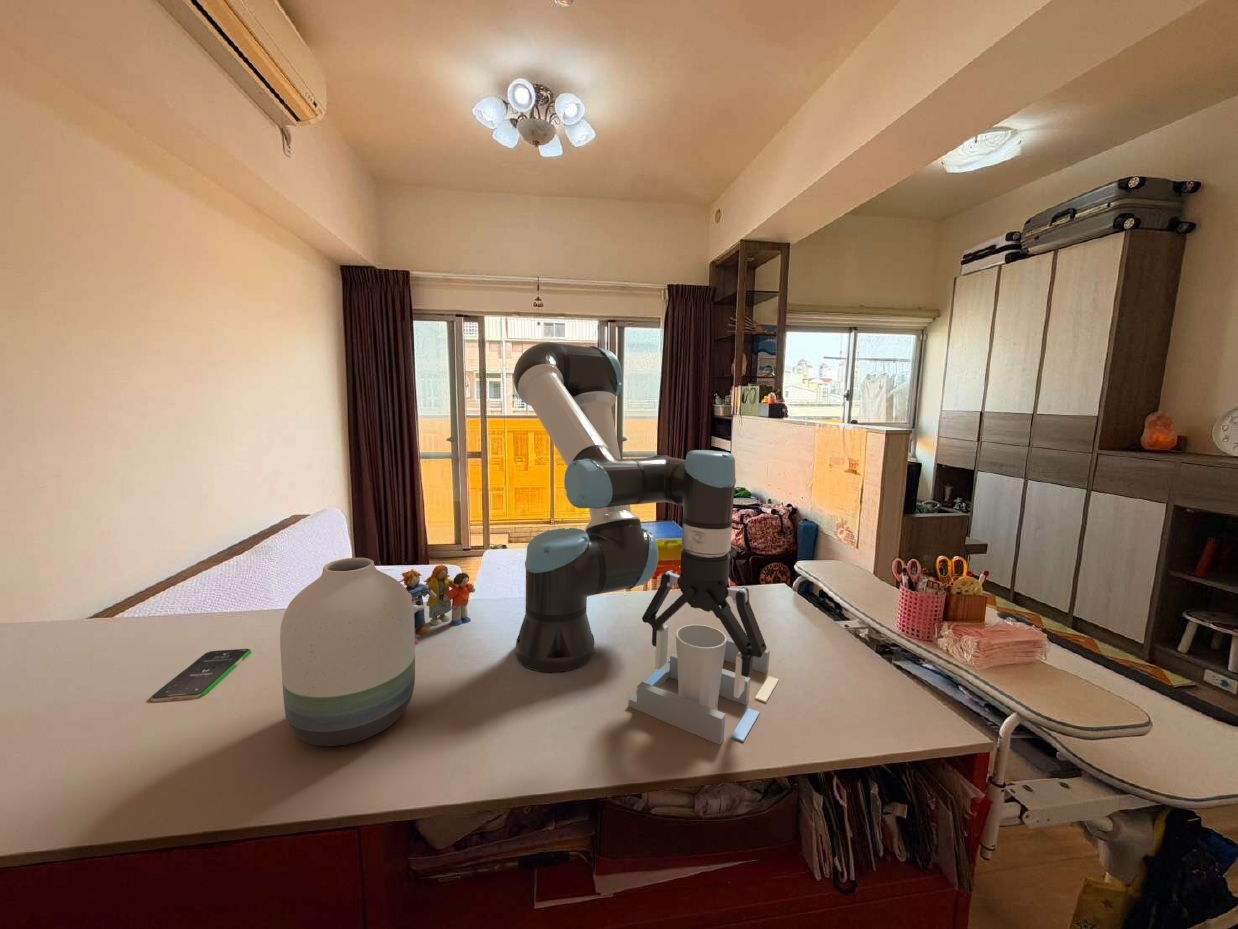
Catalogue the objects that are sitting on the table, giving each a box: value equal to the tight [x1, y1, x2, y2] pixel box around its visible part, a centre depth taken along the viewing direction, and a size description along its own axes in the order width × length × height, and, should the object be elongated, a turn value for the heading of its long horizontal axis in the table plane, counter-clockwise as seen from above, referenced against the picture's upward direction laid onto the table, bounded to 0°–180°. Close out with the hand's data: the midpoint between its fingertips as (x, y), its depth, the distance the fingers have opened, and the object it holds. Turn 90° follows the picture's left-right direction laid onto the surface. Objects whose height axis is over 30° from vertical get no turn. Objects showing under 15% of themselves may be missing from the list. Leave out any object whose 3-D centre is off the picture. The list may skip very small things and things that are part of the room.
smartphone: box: [148, 648, 252, 703], centre depth 82 cm, size 8×1×15 cm
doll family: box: [398, 564, 476, 646], centre depth 100 cm, size 21×10×13 cm, turn 148°
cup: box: [675, 624, 727, 711], centre depth 77 cm, size 8×8×12 cm
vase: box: [279, 557, 416, 747], centre depth 70 cm, size 17×17×24 cm
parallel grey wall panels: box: [627, 636, 780, 746], centre depth 83 cm, size 18×24×4 cm
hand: (698, 679), depth 77 cm, fingers open, 13 cm apart
